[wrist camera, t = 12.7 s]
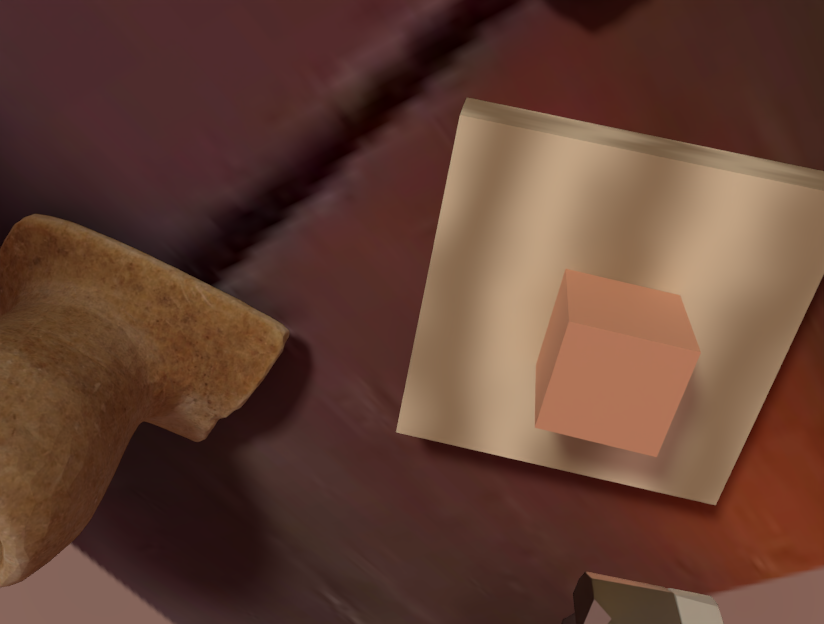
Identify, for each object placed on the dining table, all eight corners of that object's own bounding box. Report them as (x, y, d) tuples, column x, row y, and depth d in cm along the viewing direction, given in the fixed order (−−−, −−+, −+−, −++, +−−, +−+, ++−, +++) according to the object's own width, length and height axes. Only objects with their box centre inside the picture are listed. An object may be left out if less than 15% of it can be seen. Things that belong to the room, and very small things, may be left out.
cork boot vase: (-13, 352, 45) (-245, 537, 31) (32, 175, 39) (-226, 308, 26) (228, 467, 46) (104, 690, 33) (304, 311, 40) (191, 504, 27)
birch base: (407, 389, 42) (396, 432, 39) (467, 95, 35) (460, 115, 31) (700, 455, 42) (715, 505, 38) (825, 169, 34) (859, 198, 31)
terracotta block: (535, 365, 36) (534, 427, 32) (565, 268, 34) (569, 321, 29) (642, 390, 36) (656, 457, 31) (680, 295, 33) (701, 352, 29)
